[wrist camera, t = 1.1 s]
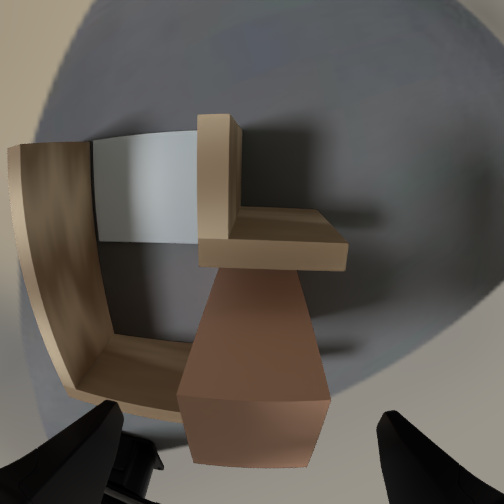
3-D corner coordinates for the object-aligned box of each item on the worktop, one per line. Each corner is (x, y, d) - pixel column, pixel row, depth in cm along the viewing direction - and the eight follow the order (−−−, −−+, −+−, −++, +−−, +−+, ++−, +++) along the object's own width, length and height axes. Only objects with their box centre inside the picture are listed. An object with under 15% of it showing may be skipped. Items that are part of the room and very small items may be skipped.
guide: (299, 359, 18) (309, 429, 12) (106, 342, 18) (68, 396, 13) (320, 134, 14) (357, 122, 8) (77, 143, 14) (7, 148, 8)
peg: (288, 322, 17) (306, 467, 8) (223, 320, 17) (194, 462, 8) (294, 261, 16) (331, 399, 6) (222, 259, 16) (176, 394, 7)
